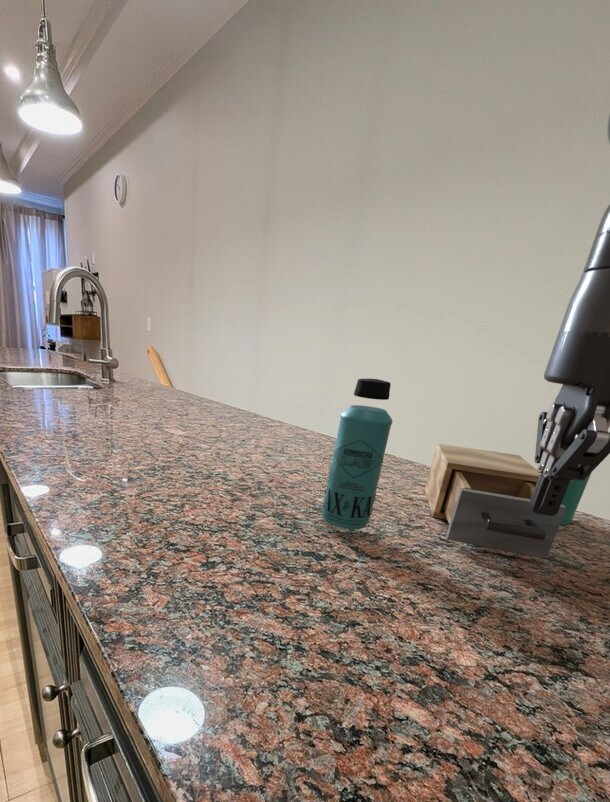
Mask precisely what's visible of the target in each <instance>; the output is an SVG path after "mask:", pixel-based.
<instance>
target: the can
mask: <svg viewBox="0 0 610 802" xmlns="http://www.w3.org/2000/svg"><path fill="white" fill-rule="evenodd" d="M592 472H593V471H592ZM592 472H591V473H590V474H589V475H588V476H587V478H586V479H585V480H583V481H582V480H575V481H574V482H570V483H569V485H568V488H567V490H566V493H565V495H564V498H563V500H562V503H561V504H562V505H564V506H565V507H566V508H567V509H566V511H565V514H564V516H563V519H562V521H561V524H560V525H570V524H572V521H573V519H574V516H575V514H576V511H577V510H578V507H579V504H580V502H581V499H582V497H583V495H584V492H585V489H586V487H587V485H588V483H589V480H590V477H591V475H592Z"/></svg>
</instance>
